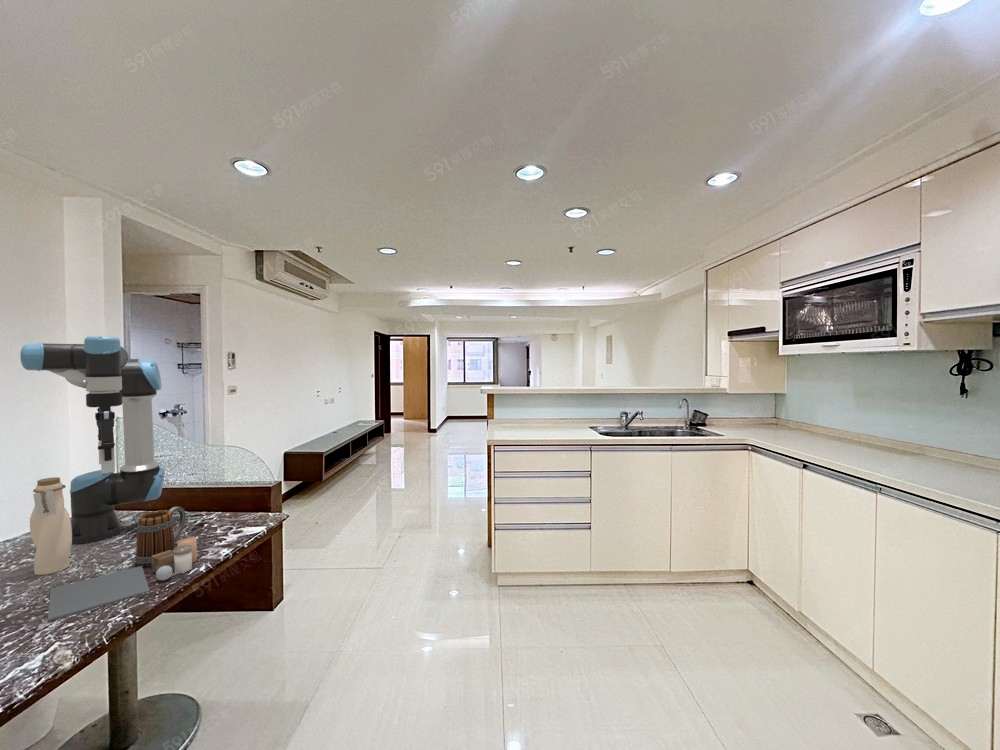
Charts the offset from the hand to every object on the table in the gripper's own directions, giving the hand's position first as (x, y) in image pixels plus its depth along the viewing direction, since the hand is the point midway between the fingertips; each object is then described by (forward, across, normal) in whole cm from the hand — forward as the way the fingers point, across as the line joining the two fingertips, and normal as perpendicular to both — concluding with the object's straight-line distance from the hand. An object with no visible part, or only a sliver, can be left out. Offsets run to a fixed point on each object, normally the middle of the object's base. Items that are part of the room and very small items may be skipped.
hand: (106, 467), depth 124 cm
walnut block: (+35, -3, +13) cm, 37 cm away
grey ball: (+33, +4, +12) cm, 35 cm away
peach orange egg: (+35, -5, +19) cm, 40 cm away
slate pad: (+35, 0, -2) cm, 35 cm away
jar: (+35, +1, +17) cm, 39 cm away
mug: (+35, -15, +14) cm, 40 cm away
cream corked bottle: (+35, -27, -12) cm, 46 cm away
